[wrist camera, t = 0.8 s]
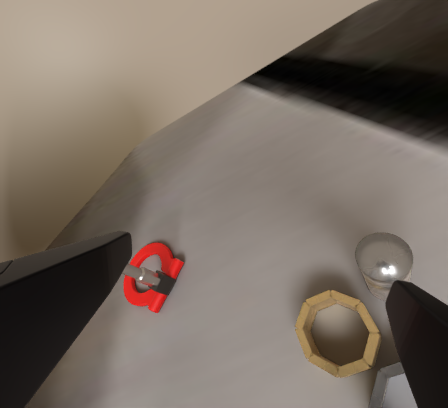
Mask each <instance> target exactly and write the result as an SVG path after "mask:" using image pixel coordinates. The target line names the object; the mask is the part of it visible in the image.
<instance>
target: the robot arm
mask: <svg viewBox="0 0 448 408" xmlns="http://www.w3.org/2000/svg"><path fill="white" fill-rule="evenodd" d="M131 256H132V240H131V234H130V233H129V232H124V231H116V232H113V233H109V234H105V235H102V236H98V237H94V238H91V239H87V240H83V241H80V242H76V243H72V244H69V245H65V246H61V247H58V248H54V249H50V250H47V251H43V252H39V253H36V254H32V255H28V256H24V257H21V258H17V259H14V261H13V260H10V261H6V262H2V263H0V408H25V406H26V405H27V404H28V402H29V401H30V400H31V398H32V397H33V396H34V394H35V393H36V392H37V390H38V389H39V388H40V386H41V385H42V384H43V382H44V381H45V380H46V378H47V377H48V376H49V374H50V373H51V372H52V370H53V369H54V367H55V366H56V365H57V363H58V362H59V361H60V359H61V358H62V357H63V355H64V354H65V353H66V351H67V350H68V349H69V347H70V346H71V345H72V343H73V342H74V341H75V339H76V338H77V337H78V335H79V334H80V333H81V331H82V330H83V329H84V327H85V326H86V325H87V323H88V322H89V321H90V319H91V318H92V317H93V315H94V314H95V312H96V311H97V310H98V308H99V307H100V306H101V304H102V303H103V302H104V300H105V299H106V298H107V296H108V295H109V293H110V292H111V291H112V289H113V287H114V286H115V284H116V282H117V281H118V279H119V277H120V276H121V274H122V272H123V271H124V269H125V267H126V265H127V264H128V262H129V260H130V259H131ZM386 311H387V315H388V318H389V322H390V326H391V330H392V334H393V338H394V342H395V346H396V349H397V353H398V356H399V359H400V361H401V364H402V367H403V369H404V372H405V375H406V377H407V380H408V383H409V385H410V388H411V391H412V393H413V396H414V399H415V401H416V404H417V407H418V408H448V305H446V304H445V303H443V302H441V301H440V300H438V299H437V298H435V297H433V296H432V295H430V294H429V293H427V292H426V291H424V290H422V289H421V288H419V287H418V286H416V285H414V284H413V283H411V282H408V281H402V280H395V281H394V282H393V284H392V286H391V289H390V291H389V294H388V296H387V299H386Z"/></svg>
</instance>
